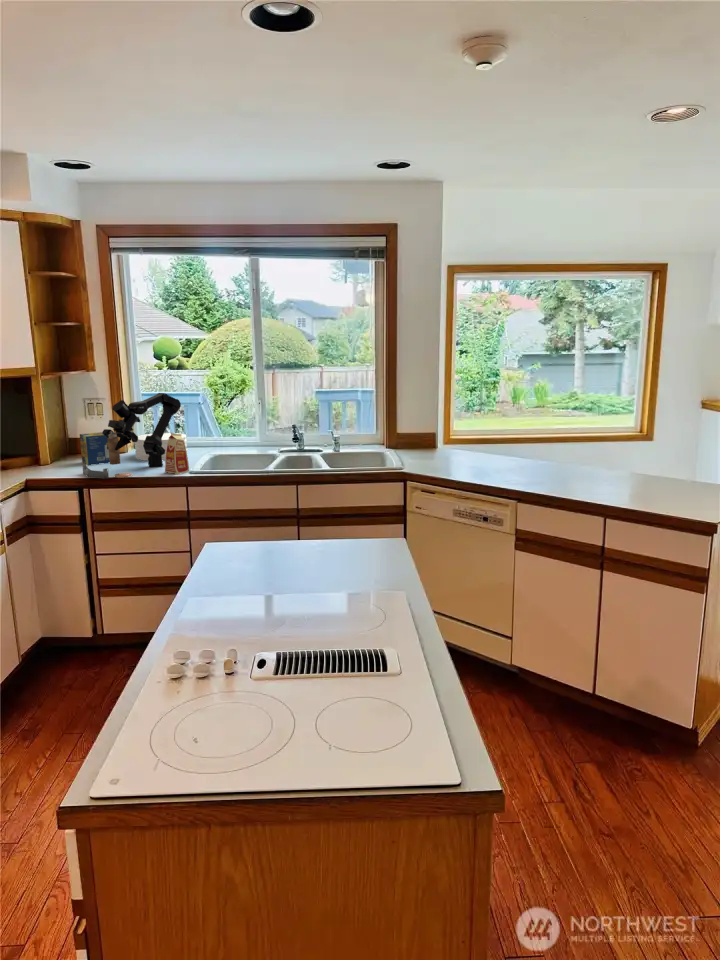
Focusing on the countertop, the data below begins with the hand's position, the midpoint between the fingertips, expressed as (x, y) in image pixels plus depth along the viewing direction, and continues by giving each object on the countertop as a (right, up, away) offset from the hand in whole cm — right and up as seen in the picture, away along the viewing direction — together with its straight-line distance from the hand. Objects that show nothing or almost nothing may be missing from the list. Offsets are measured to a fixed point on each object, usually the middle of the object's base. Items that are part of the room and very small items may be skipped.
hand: (111, 449), depth 304 cm
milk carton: (+28, -11, +13) cm, 32 cm away
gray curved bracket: (-9, -13, +3) cm, 16 cm away
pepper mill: (+1, -7, +3) cm, 7 cm away
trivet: (+5, -13, +3) cm, 14 cm away
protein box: (-21, -5, +39) cm, 44 cm away
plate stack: (+7, -1, +56) cm, 57 cm away
